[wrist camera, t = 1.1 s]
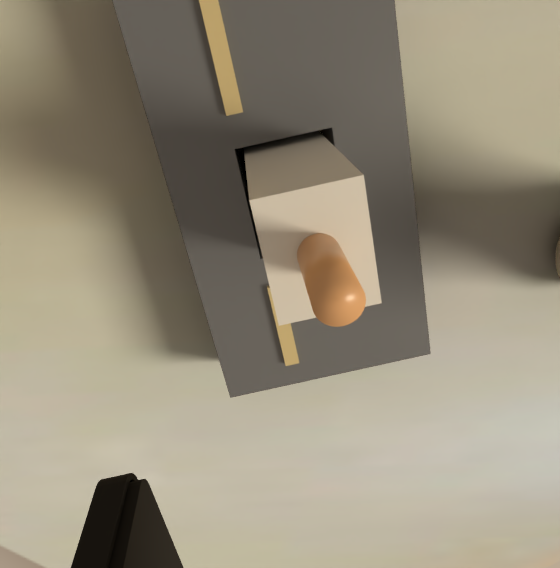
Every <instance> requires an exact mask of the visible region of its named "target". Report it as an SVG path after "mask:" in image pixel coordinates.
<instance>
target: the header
mask: <svg viewBox="0 0 560 568" xmlns="http://www.w3.org/2000/svg"><path fill="white" fill-rule="evenodd" d="M112 1H113V4H114V8H115V11H116V14H117V18H118V21H119V25H120V28H121V31H122V35H123V38H124V41H125V45H126V48H127V52H128V55H129V58H130V62H131V65H132V68H133V72H134V75H135V78H136V82H137V85H138V89H139V92H140V95H141V99H142V102H143V105H144V109H145V112H146V115H147V119H148V122H149V126H150V129H151V132H152V136H153V139H154V142H155V146H156V149H157V152H158V156H159V159H160V163H161V166H162V169H163V173H164V176H165V179H166V183H167V186H168V189H169V193H170V196H171V200H172V203H173V206H174V210H175V213H176V216H177V220H178V223H179V226H180V230H181V233H182V237H183V240H184V243H185V247H186V250H187V253H188V257H189V260H190V263H191V267H192V270H193V274H194V277H195V280H196V284H197V287H198V290H199V294H200V297H201V300H202V304H203V307H204V311H205V314H206V317H207V321H208V324H209V327H210V331H211V334H212V337H213V341H214V344H215V348H216V351H217V354H218V358H219V361H220V364H221V368H222V371H223V374H224V378H225V381H226V385H227V388H228V391H229V395H230V398H231V397H236V396H240V395H245V394H249V393H254V392H258V391H263V390H268V389H272V388H277V387H281V386H286V385H290V384H295V383H300V382H304V381H309V380H313V379H318V378H322V377H327V376H331V375H336V374H341V373H345V372H350V371H354V370H359V369H363V368H368V367H373V366H377V365H382V364H386V363H391V362H395V361H400V360H404V359H409V358H414V357H418V356H423V355H427V354H430V344H429V334H428V324H427V314H426V305H425V295H424V285H423V275H422V265H421V256H420V246H419V236H418V226H417V217H416V207H415V197H414V187H413V177H412V168H411V158H410V148H409V138H408V128H407V119H406V109H405V99H404V89H403V79H402V70H401V60H400V50H399V40H398V30H397V21H396V11H395V1H394V0H112ZM318 130H322V133H323V136H324V137H325V138H326V139H327V140H328V141H329V142H330V143H332V144H333V145H334V146H335V147H336V148H337V149H338V150H339V151H340V152H341V153H342V154H343V155H344V156H345V157H346V158H347V159H348V160H349V161H350V162H351V163H352V164H353V165H354V166H355V167H356V168H357V169H358V170H359V171H360V172H361V173H362V174H363V175H364V180H365V187H366V195H367V202H368V209H369V216H370V223H371V230H372V237H373V244H374V252H375V259H376V266H377V273H378V280H379V287H380V294H381V302H382V303H380V304H376V305H371V306H367V307H365V308H364V310H363V312H362V314H361V315H360V316H359V318H358V319H356V320H355V321H354V322H352V323H350V324H348V325H345V326H340V327H333V326H328V325H326V324H324V323H322V322H321V321H319V320H318V319H317V318H312V319H308V320H303V321H298V322H294V323H289V324H285V325H280V326H279V325H278V320H277V316H276V312H275V307H274V303H273V299H272V295H271V290H270V286H269V282H268V278H267V273H266V269H265V265H264V261H263V256H262V252H261V248H260V244H259V239H258V235H257V231H256V227H255V223H254V218H253V214H252V210H251V206H250V201H249V197H248V193H247V189H246V184H245V180H244V176H243V172H242V167H241V163H240V159H239V155H238V150H237V149H238V148H242V147H247V146H251V145H256V144H260V143H265V142H269V141H273V140H278V139H282V138H287V137H291V136H296V135H300V134H305V133H309V132H314V131H318Z"/></svg>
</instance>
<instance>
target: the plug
mask: <svg viewBox="0 0 560 568" xmlns="http://www.w3.org/2000/svg"><path fill="white" fill-rule="evenodd" d="M244 156H245V165H246V174H247V183H248V193H249V201H250V205H251V210H252V214H253V218H254V222H255V227H256V231H257V235H258V239H259V244H260V248H261V252H262V256H263V261H264V265H265V269H266V273H267V278H268V282H269V286H270V290H271V295H272V299H273V303H274V307H275V312H276V316H277V320H278V325H279V326H280V325H285V324H289V323H294V322H298V321H303V320H308V319H312V318H317V319H318V320H319V321H321V322H322V323H324V324H326V325H328V326H333V327H340V326H345V325H348V324H350V323H352V322H354V321H355V320H356V319H358V318H359V316H360V315H361V314H362V312H363V310H364V308H365V307H367V306H371V305H376V304H380V303H382V302H381V294H380V287H379V280H378V273H377V266H376V259H375V252H374V244H373V237H372V230H371V223H370V216H369V209H368V202H367V195H366V187H365V180H364V175H363V174H362V173H361V172H360V171H359V170H358V169H357V168H356V167H355V166H354V165H353V164H352V163H351V162H350V161H349V160H348V159H347V158H346V157H345V156H344V155H343V154H342V153H341V152H340V151H339V150H338V149H337V148H336V147H335V146H334V145H333V144H332V143H330V142H329V141H328V140H327V139H326V138H325V137H324V136H323V135H322V134H321V133H320V132H319V131H314V132H309V133H305V134H300V135H296V136H291V137H287V138H282V139H278V140H273V141H269V142H265V143H260V144H256V145H251V146H247V147H244Z"/></svg>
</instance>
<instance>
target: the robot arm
mask: <svg viewBox="0 0 560 568" xmlns="http://www.w3.org/2000/svg"><path fill="white" fill-rule="evenodd" d="M71 568H183V566H182V563H181V561H180V558H179V556H178V553H177V551H176V549H175V546H174V544H173V541H172V539H171V536H170V534H169V532H168V529H167V527H166V524H165V522H164V519H163V517H162V515H161V512H160V510H159V507H158V505H157V502H156V500H155V498H154V495H153V493H152V490H151V488H150V485H149V483H148V481H147V480H146V479H141V480H138V479H137V477H136V476H135V475H134V474H133V473H129V474H125V475H120V476H116V477H111V478H106V479H102V480H100V481H99V482H98V484H97V486H96V489H95V492H94V495H93V498H92V502H91V505H90V508H89V511H88V515H87V518H86V521H85V524H84V527H83V531H82V534H81V537H80V540H79V543H78V547H77V550H76V553H75V556H74V559H73V563H72V566H71Z"/></svg>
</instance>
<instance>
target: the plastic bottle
mask: <svg viewBox="0 0 560 568" xmlns="http://www.w3.org/2000/svg"><path fill="white" fill-rule="evenodd" d="M555 263H556V270H557V272H558V275H559V277H560V237H559V240H558V243H557V247H556V258H555Z"/></svg>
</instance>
